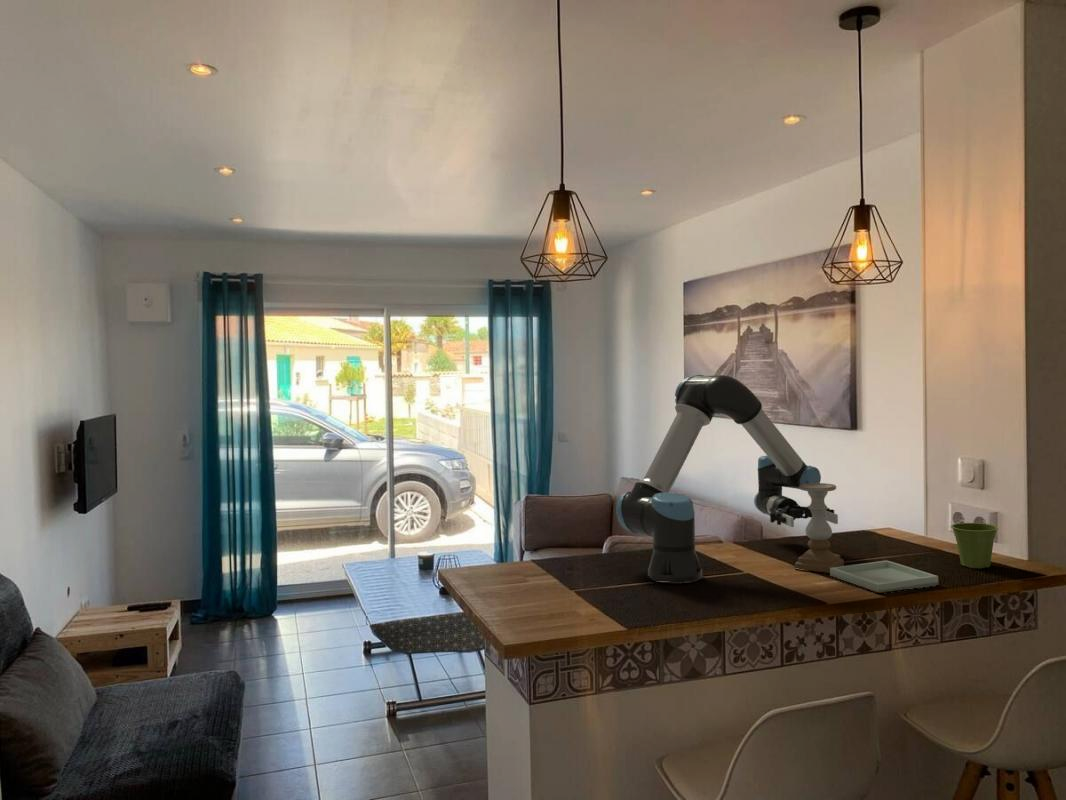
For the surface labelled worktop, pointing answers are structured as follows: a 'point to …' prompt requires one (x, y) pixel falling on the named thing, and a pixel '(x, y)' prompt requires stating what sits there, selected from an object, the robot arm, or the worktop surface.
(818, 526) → the candle holder
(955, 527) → the plant pot
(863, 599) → the worktop surface
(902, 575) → the tray
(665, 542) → the robot arm
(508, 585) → the worktop surface
